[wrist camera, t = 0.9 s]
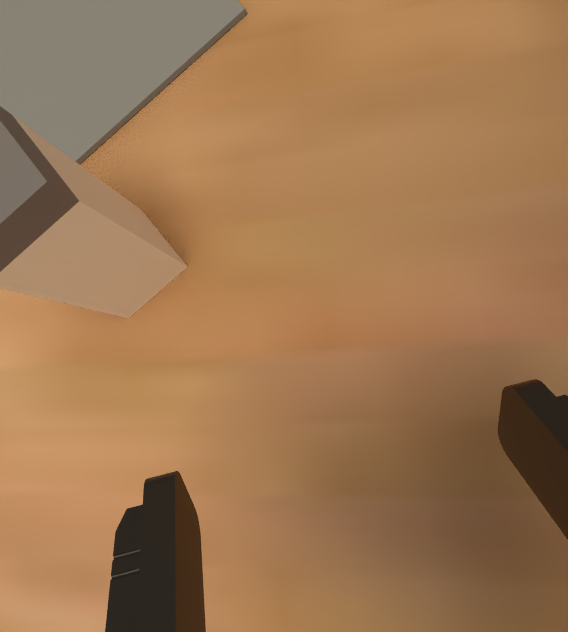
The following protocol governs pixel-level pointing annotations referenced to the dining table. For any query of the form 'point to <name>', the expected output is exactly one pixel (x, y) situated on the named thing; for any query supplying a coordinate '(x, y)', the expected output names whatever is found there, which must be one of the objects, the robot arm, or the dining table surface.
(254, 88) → the dining table surface
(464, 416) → the dining table surface
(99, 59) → the slate mat
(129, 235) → the cream block
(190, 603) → the robot arm
